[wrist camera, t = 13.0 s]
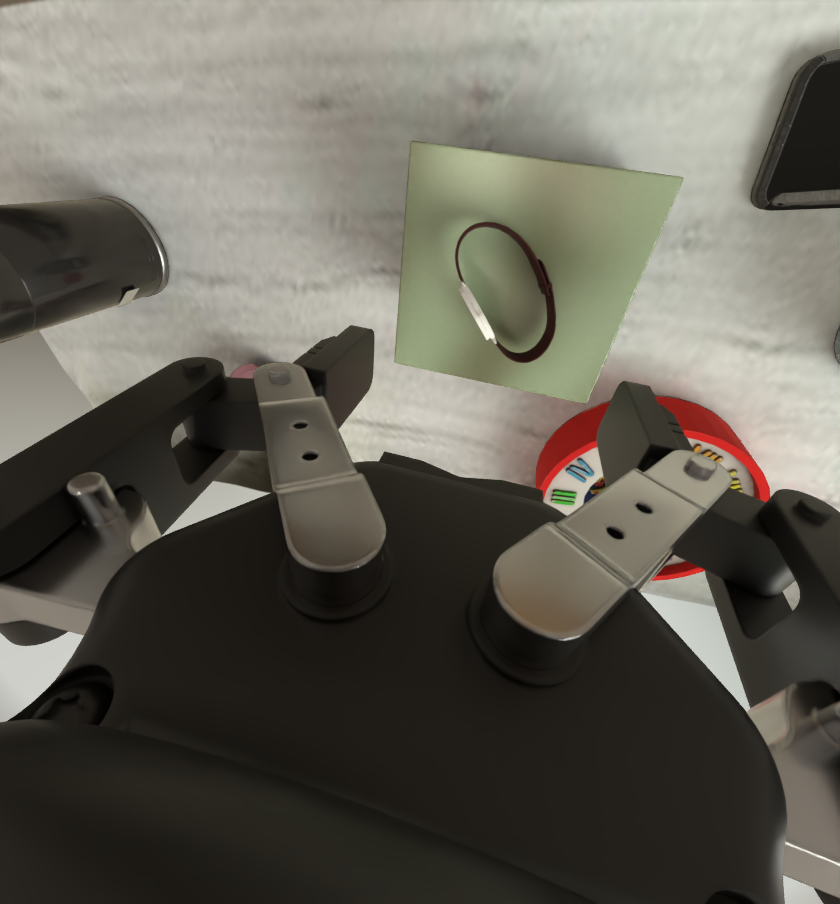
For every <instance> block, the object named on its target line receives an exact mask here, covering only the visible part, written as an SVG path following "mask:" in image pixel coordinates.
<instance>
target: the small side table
mask: <svg viewBox="0 0 840 904" xmlns="http://www.w3.org/2000/svg"><path fill="white" fill-rule="evenodd" d="M682 182H683V177H679V176H671V175H664V174H657V173H649V172H642V171H634V170H627V169H619V168H612V167H604V166H597V165H590V164H582V163H575V162H567V161H560V160H552V159H545V158H537V157H530V156H523V155H515V154H508V153H500V152H493V151H485V150H478V149H470V148H463V147H456V146H448V145H441V144H433V143H426V142H418V141H411V142H410V154H409V168H408V182H407V195H406V209H405V223H404V236H403V250H402V264H401V277H400V291H399V305H398V318H397V332H396V346H395V359H394V362H395V363H398V364H402V365H407V366H412V367H416V368H421V369H426V370H430V371H435V372H440V373H444V374H449V375H454V376H458V377H463V378H468V379H472V380H477V381H482V382H486V383H491V384H496V385H500V386H505V387H509V388H514V389H519V390H523V391H528V392H533V393H537V394H542V395H547V396H551V397H556V398H561V399H565V400H570V401H575V402H579V403H584V404H587V402H588V400H589V398H590V395H591V393H592V391H593V388H594V386H595V384H596V381H597V379H598V377H599V374H600V372H601V370H602V368H603V365H604V363H605V361H606V358H607V356H608V354H609V351H610V349H611V347H612V344H613V342H614V340H615V337H616V335H617V333H618V330H619V328H620V326H621V323H622V321H623V319H624V316H625V314H626V312H627V309H628V307H629V305H630V302H631V300H632V298H633V295H634V293H635V291H636V289H637V286H638V284H639V282H640V279H641V277H642V275H643V272H644V270H645V268H646V265H647V263H648V261H649V258H650V256H651V254H652V251H653V249H654V247H655V244H656V242H657V240H658V237H659V235H660V233H661V230H662V228H663V226H664V223H665V221H666V219H667V217H668V214H669V212H670V210H671V207H672V205H673V203H674V200H675V198H676V196H677V193H678V191H679V189H680V186H681V184H682ZM481 222H495V223H498V224H501V225H504V226H507V227H508V228H510V229H511V230H513V231H514V232H516V233H517V234H518V235H519V236H521V237H522V238H523V240H524V241H525V242H526V243H527V244H528V245H529V246H530V248H531V249H532V251H533V252H534V254H535V256H536V258H537V259H539V260H541V261H542V262H543V264H544V265H545V267H546V270H547V273H548V276H549V279H550V282H551V283H552V289H553V293H554V300H555V309H556V329H555V334H554V337H553V339H552V342H551V344H550V346H549V347H548V349H547V350H546V351H545V352H544V354H543V355H542V356H541V357H539V358H538V359H536V360H534V361H532V362H529V363H518V362H514V361H512V360H511V359H509V358H507V357H506V356H505V355H504V354H503V353H502V352H501V351H500V349H499V348H498V347H497V345H496V344H495V343H494V342H493V341H492V339H491V338H489V339H488V340H486V338H485V336H484V335H483V333H482V331H481V329H480V328H479V326H478V324H477V322H476V321H475V319H474V317H473V315H472V313H471V312H470V310H469V308H468V306H467V304H466V303H465V301H464V299H463V297H462V295H461V294H460V292H459V290H458V289H460V288H462V284H461V283H460V281H459V280H460V279H459V276H458V272H457V269H456V264H455V250H456V246H457V242H458V240H459V238H460V236H461V235H462V233H463V232H464V231H465V230H466V229H467V228H468V227H470V226H472V225H474V224H476V223H481ZM458 261H459V268H460V271H461V275H462V277H463V280H464V282H465V284H467V286H468V288H469V289H470V291H471V292H472V294H473V296H474V297H475V299H476V301H477V303H478V305H479V306H480V308H481V310H482V312H483V314H484V315H485V317H486V319H487V321H488V323H489V325H490V327H491V329H492V331H493V333H494V335H495V338H496V339H497V341H498V342H499V343H500V344H501V345H502V346H503V347H505V348H506V349H507V350H509V351H511V352H515V353H523V352H526V351H528V350H530V349H531V348H533V347H534V346H536V344H537V343H538V342H539V341H540V339H541V338H542V336H543V333H544V331H545V328H546V323H547V308H546V300H545V295H544V294H542V293H541V290H540V288H539V287H538V281H537V278H536V275H535V273H534V271H533V269H532V267H531V264H530V262H529V260H528V258H527V256H526V254H525V253H524V251H523V249H522V248H521V247H520V246H519V244H518V243H517V242H516V241H515V240H514V239H513V238H511V237H510V236H509V235H508V234H506V233H504V232H502V231H501V230H498V229H494V228H489V227H481V228H477V229H474V230H472V231H470V232H469V233H467V235H466V236H465V237H464V238H463V240H462V242H461V244H460V247H459V253H458Z"/></svg>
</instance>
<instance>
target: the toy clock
mask: <svg viewBox="0 0 840 904" xmlns="http://www.w3.org/2000/svg"><path fill="white" fill-rule="evenodd" d="M655 398H656V400H657V402H658V404H660V405H663V406H664V407H666V408H667V409H668V410H669V411H670V412H672V413H673V414H674V415H675V417H676V419H677V421H678V422H679V424H680V426H679V427H681V428H682V430H683V431H684V435H686V437H687V439H688V441H689V442H690V444H691V446H692V448H693V450H694V452H696V453H699V454H702V455H704V456H707V457H709V458H711V459H713V460H714V461H716V462H718V463H719V464H721V465H722V466H723V467H724V468H725V469H726V470H728V472H729V473H730V474H731V476H732V479H733V483H732V484H731V486H730V488H732V489H735V490H737V491H739V492H742V493H744V494H747V495H749V496H752V497H754V498H757V499H759V500H762V501H764V502H767V501H768V500H769V499H770V488H769V486H768V483H767V481H766V478H765V476H764V474H763V472H762V471H761V469H760V468H759V466H758V465H757V464H756V462H755V461H754V459H753V458H752V457H751V455H750V454H749V452H748V451H747V450H746V448H745V447H744V445H743V444H742V443H741V441H740V440H739V438H738V437H737V435H736V434H735V433H734V432H733V430H732V429H731V428H730V426H729V425H728V424H727V423H726V422H725V421H724V420H722V419H721V418H720V417H719V416H717V415H716V414H715V413H713V412H711V411H709V410H708V409H706V408H704V407H702V406H700V405H698V404H694V403H691V402H688V401H685V400H682V399H677V398H670V397H663V396H655ZM610 402H611V401H610ZM610 402H606V403H602V404H599V405H597V406H595V407H592V408H590V409H588V410H585V411H583V412H581V413H580V414H578V415H577V416H575V417H573V418H572V419H570V420H569V421H567V422H566V423H565V424H564V425H563V426H561V427H560V428H559V429H558V430H557V431H556V432H555V433H554V434H553V435H552V437H551V438H550V439H549V440H548V441H547V443H546V444H545V446H544V448H543V450H542V452H541V454H540V456H539V460H538V463H537V467H536V489H540V490H543V502H544V503H546V504H548V505H550V506H552V507H554V508H556V509H558V510H559V511H561V512H562V513H564V514H565V515H567V516H568V515H569V514H571V513H572V512H573V511H575V510H576V509H578V508H579V507H581V506H582V505H583V504H585V503H586V502H588V501H589V500H590V499H592V498H593V497H595V496H596V495H597V494H599V493H600V492H602V491H603V490H604V489H606V486H605V481H604V476H603V472H602V467H601V462H600V457H599V452H598V447H597V442H596V438H597V432H598V429H599V426H600V423H601V421H602V419H603V417H604V415H605V413H606V410H607V408H608V406H609V404H610ZM702 571H705V570H704V569H702V568H700V567H698V566H696V565H693V564H691V563H689V562H687V561H685V560H683V559H681V558H679V557H677V556H675V555H674V556H673V557H672V558H671V559H670V560H669V562H668V563H667V564H666V565H665V566H664V567H663V568H662V569H661V570H660V572H659V573H658V574H657V575H656V576H655V577H654V578H653V579H652V580H651V581H655V580H668V579H674V578H679V577H685V576H689V575H692V574H696V573H699V572H702Z"/></svg>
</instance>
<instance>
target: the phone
mask: <svg viewBox="0 0 840 904" xmlns="http://www.w3.org/2000/svg"><path fill="white" fill-rule="evenodd" d="M751 200H752V203H753V205H754V206H755V207H757V208H759V209H764V210H771V211H772V210H797V209H822V208H840V49H838V50H833V51H830V52H826V53H824V54H822V55H819V56H817V57H815V58H813V59H812V60H810V61H808V62H807V63H806V64H805V65H804V66H803V67H802V68H801V69H800V70H799V71H798V73H797V74H796V75H795V77H794V79H793V81H792V83H791V86H790V89H789V91H788V94H787V97H786V100H785V102H784V105H783V108H782V111H781V113H780V116H779V119H778V121H777V124H776V127H775V130H774V132H773V135H772V138H771V141H770V143H769V146H768V149H767V152H766V154H765V157H764V160H763V163H762V165H761V168H760V171H759V174H758V176H757V179H756V182H755V184H754V187H753V190H752V194H751Z"/></svg>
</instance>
